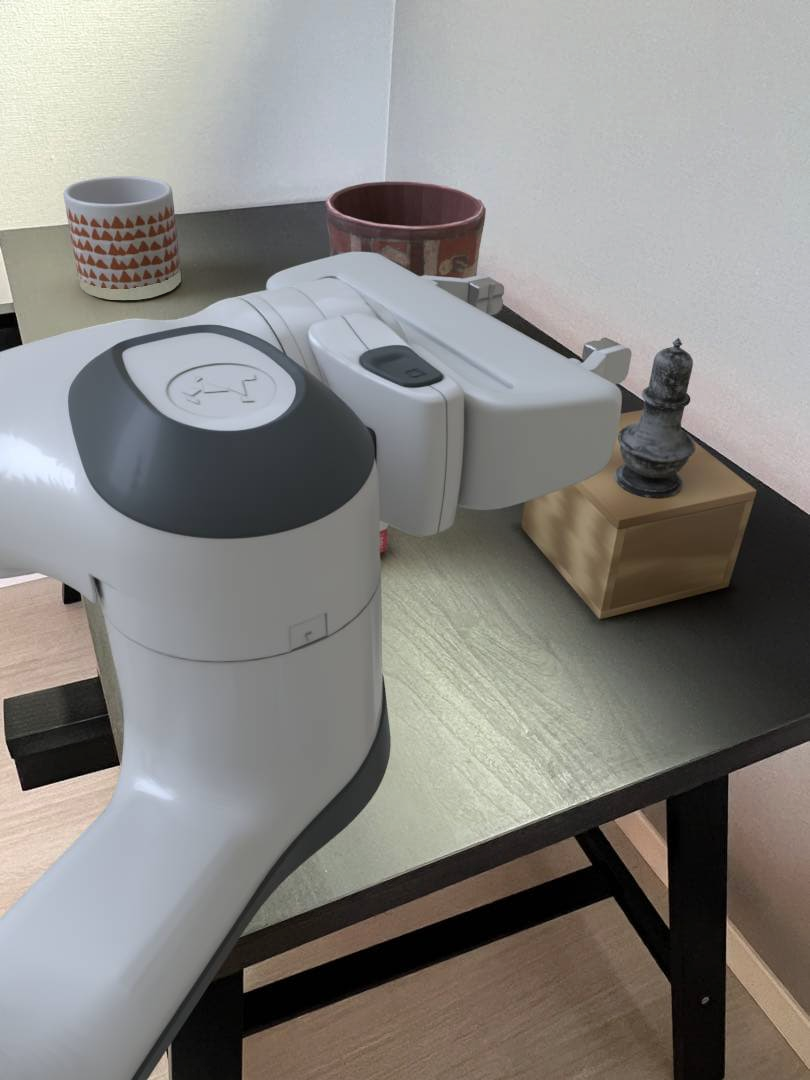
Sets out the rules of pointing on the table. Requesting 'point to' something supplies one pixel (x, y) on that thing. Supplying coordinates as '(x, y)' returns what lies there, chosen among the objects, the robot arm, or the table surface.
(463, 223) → the pottery
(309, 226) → the table surface
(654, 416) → the salt shaker
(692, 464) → the bin lid
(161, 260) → the planter
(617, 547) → the bin
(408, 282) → the robot arm
